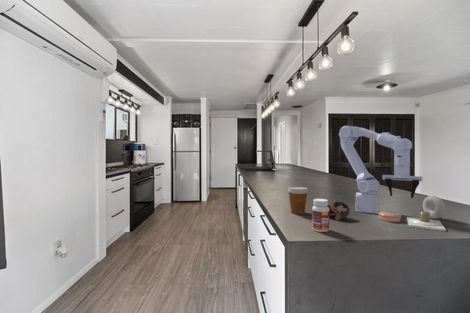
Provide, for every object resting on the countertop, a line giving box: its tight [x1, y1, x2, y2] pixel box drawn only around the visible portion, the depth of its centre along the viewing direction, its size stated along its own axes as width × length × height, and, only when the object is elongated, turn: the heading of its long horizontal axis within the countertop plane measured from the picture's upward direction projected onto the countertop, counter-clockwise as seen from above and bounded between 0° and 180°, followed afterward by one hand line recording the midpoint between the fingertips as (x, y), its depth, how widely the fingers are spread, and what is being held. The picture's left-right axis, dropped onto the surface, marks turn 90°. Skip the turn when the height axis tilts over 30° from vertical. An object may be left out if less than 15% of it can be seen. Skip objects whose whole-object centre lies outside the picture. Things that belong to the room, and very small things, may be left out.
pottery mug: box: [327, 200, 350, 221], centre depth 110 cm, size 12×10×8 cm
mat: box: [406, 216, 447, 232], centre depth 100 cm, size 11×13×1 cm
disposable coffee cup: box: [287, 186, 309, 215], centre depth 119 cm, size 10×10×12 cm
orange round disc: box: [378, 211, 402, 223], centre depth 107 cm, size 9×9×2 cm
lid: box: [411, 210, 440, 226], centre depth 99 cm, size 9×9×4 cm
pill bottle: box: [311, 198, 330, 233], centre depth 93 cm, size 6×6×11 cm
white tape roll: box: [422, 195, 446, 220], centre depth 108 cm, size 10×3×10 cm, turn 3°
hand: (401, 196), depth 109 cm, fingers open, 7 cm apart
